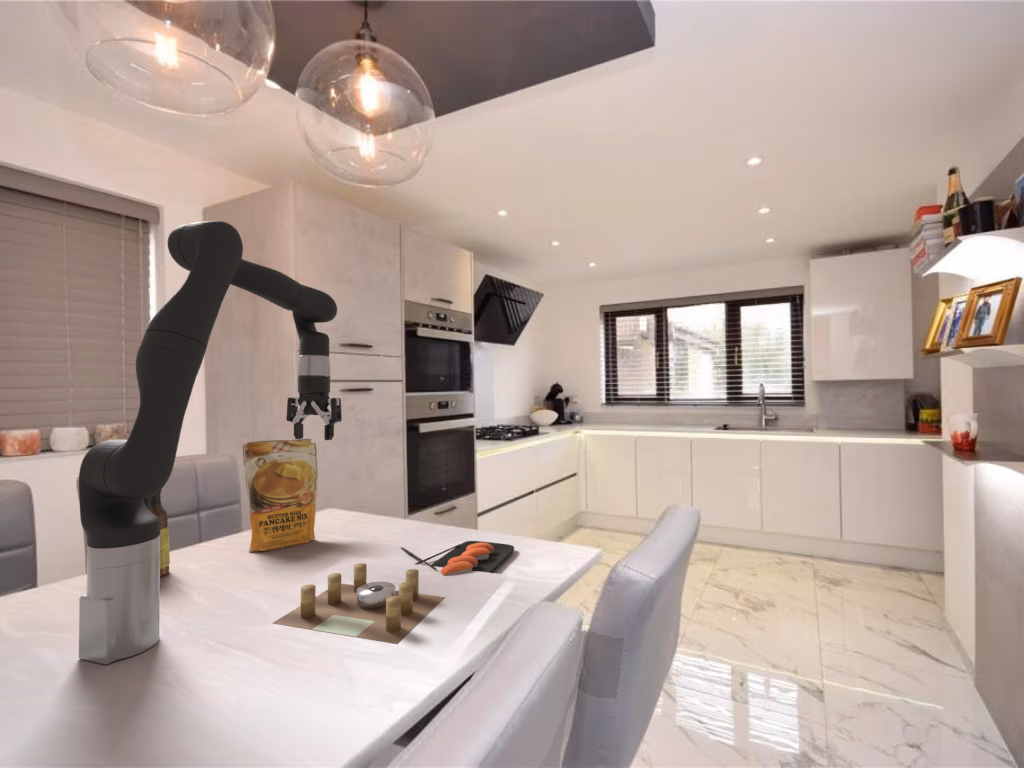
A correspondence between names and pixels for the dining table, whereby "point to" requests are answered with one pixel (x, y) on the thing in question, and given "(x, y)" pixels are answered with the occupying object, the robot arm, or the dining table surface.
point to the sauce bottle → (157, 509)
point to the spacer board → (346, 618)
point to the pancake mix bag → (281, 492)
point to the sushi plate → (470, 557)
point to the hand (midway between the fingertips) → (313, 439)
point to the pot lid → (374, 595)
